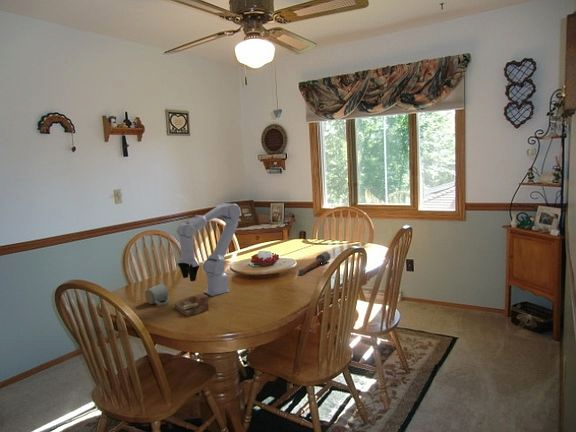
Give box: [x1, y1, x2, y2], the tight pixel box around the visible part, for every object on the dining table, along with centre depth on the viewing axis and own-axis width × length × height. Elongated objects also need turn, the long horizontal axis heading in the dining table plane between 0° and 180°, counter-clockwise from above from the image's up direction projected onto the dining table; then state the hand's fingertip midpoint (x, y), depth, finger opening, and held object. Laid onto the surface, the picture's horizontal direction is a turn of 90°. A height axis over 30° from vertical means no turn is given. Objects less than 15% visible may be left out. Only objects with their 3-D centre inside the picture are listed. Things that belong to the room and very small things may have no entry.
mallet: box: [298, 251, 331, 275], centre depth 243 cm, size 6×6×30 cm
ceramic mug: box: [144, 283, 169, 306], centre depth 197 cm, size 11×8×8 cm
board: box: [173, 300, 202, 317], centre depth 186 cm, size 6×14×2 cm, turn 36°
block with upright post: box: [183, 293, 210, 313], centre depth 184 cm, size 10×4×6 cm, turn 125°
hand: (189, 279), depth 197 cm, fingers open, 7 cm apart
